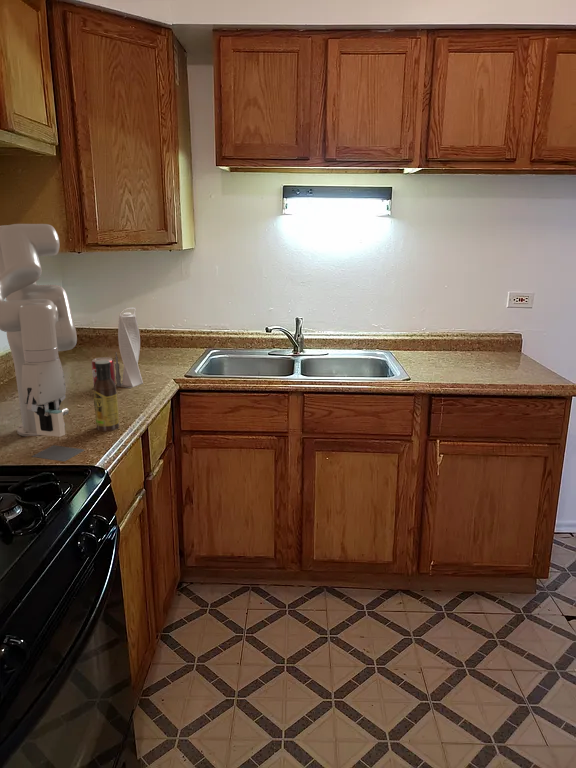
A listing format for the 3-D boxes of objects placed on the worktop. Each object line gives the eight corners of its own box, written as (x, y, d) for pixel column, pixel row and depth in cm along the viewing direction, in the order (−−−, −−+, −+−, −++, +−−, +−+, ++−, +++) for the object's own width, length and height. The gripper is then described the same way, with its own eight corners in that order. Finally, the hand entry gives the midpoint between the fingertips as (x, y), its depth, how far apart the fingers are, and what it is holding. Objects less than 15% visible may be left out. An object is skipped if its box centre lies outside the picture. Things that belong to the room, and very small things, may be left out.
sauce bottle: (94, 428, 165) (88, 360, 160) (117, 424, 168) (111, 357, 163) (99, 435, 160) (92, 365, 155) (122, 431, 163) (116, 362, 157)
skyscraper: (130, 381, 216) (125, 306, 209) (148, 383, 213) (142, 307, 205) (115, 386, 209) (108, 309, 201) (132, 389, 205) (126, 310, 198)
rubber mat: (53, 447, 151) (53, 445, 151) (85, 451, 148) (85, 449, 148) (31, 458, 144) (31, 456, 144) (64, 463, 141) (64, 461, 141)
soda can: (107, 397, 195) (104, 362, 192) (89, 395, 197) (86, 361, 194) (120, 391, 202) (118, 358, 198) (103, 389, 204) (100, 356, 201)
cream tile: (65, 434, 142) (62, 410, 140) (60, 436, 140) (57, 412, 139) (42, 432, 144) (38, 408, 142) (37, 434, 142) (33, 410, 141)
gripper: (51, 348, 145) (59, 418, 150) (3, 361, 131) (14, 438, 136) (76, 350, 143) (83, 420, 148) (30, 363, 129) (40, 441, 133)
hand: (50, 428), depth 142 cm, fingers closed on cream tile, 1 cm apart
